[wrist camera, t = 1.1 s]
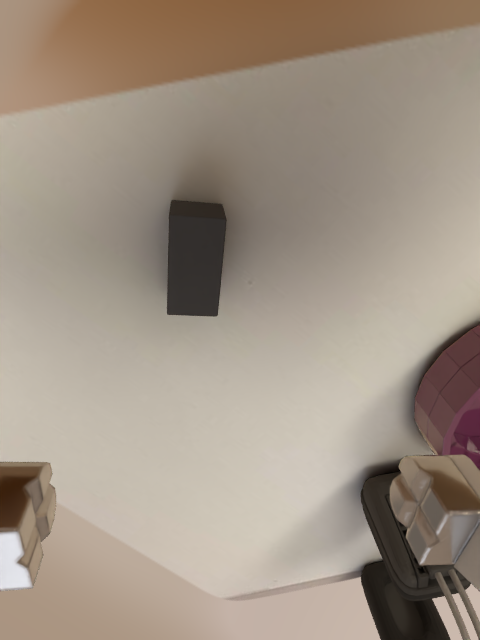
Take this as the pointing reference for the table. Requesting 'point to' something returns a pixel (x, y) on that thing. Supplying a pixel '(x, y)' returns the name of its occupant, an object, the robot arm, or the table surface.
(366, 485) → the headphones
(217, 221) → the eraser
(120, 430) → the table surface
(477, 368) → the bowl
